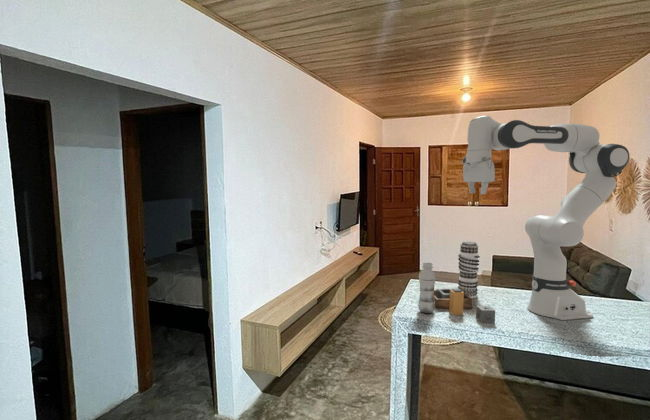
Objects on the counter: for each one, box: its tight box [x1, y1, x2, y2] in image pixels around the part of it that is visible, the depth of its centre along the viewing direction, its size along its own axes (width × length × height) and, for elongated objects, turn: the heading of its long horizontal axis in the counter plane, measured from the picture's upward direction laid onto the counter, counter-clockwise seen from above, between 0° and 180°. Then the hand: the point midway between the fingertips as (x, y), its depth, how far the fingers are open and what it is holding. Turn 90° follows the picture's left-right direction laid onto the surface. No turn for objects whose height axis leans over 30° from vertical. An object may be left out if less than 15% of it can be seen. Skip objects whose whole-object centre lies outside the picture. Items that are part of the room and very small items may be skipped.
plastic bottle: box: [417, 261, 437, 314], centre depth 143 cm, size 6×7×20 cm
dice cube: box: [475, 305, 496, 324], centre depth 135 cm, size 5×5×5 cm
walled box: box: [434, 288, 473, 310], centre depth 153 cm, size 15×13×5 cm
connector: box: [449, 288, 464, 316], centre depth 142 cm, size 4×4×10 cm
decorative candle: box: [457, 240, 481, 299], centre depth 164 cm, size 9×9×25 cm
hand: (477, 193), depth 140 cm, fingers open, 8 cm apart
